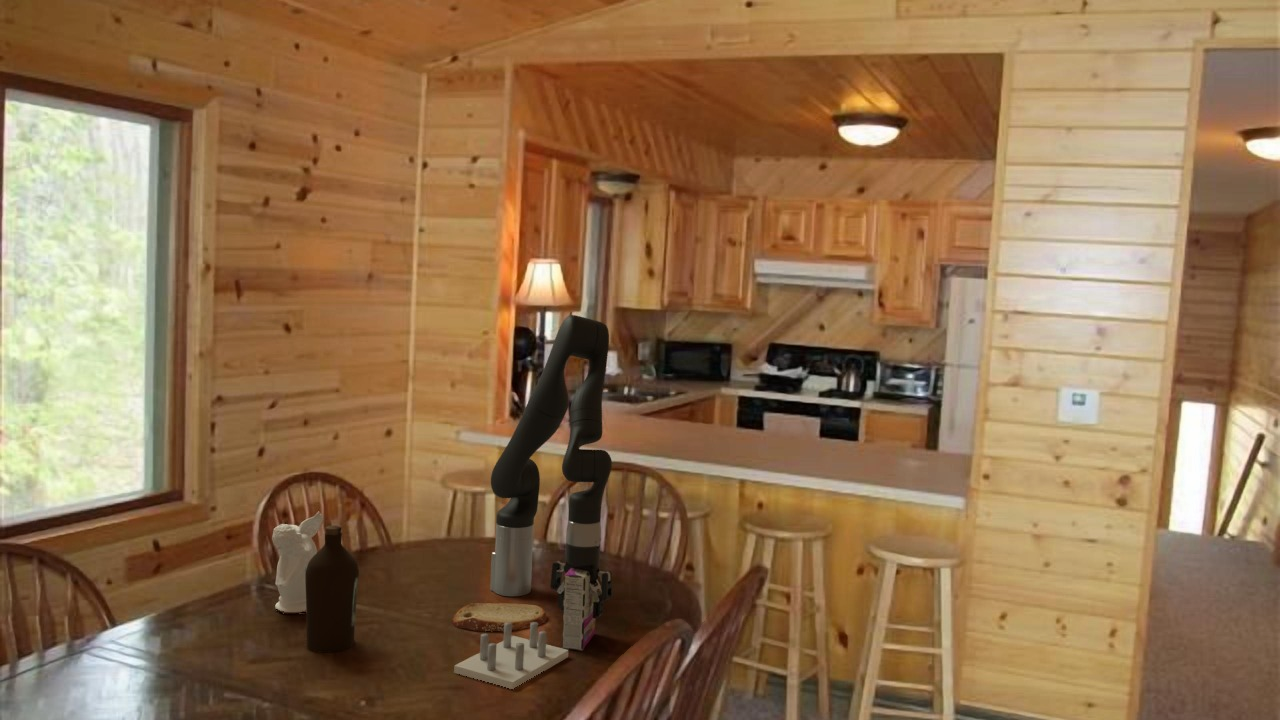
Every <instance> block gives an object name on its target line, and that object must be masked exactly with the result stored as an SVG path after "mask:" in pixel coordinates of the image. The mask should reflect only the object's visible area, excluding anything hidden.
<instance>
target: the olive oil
mask: <svg viewBox="0 0 1280 720" xmlns="http://www.w3.org/2000/svg"><path fill="white" fill-rule="evenodd" d="M342 537H343V533H342V526H341V525H337V524H336V525H335V524H332V525H327V526H325V533H324V544H323V546H322V547H321V548H320V549H319V550H317V553H316V554H315V555H314V556H313V557H312V558H311V560H310V561H309V563H308V565H307V568H306V573H305V582H306V613H305V614H306V646H307V648H308V649H309V648H310V649H309V650H311V649H312V650H311V651H313V650H315V651H314V652H317V651H321V652H320V653H335V652H340V651H341V652H342V651H344V650H347V649H349V648H351V647H352V646H353V645H354V641H355V626H356V612H357V611H356V610H357V600H358V590H359V589H358V588H359V575H360V573H359V572H360V571H359V570H360V569H359V566H358V562H357V560H356V558H355V557H354V556H353V555H352V554H351V553H350V552H349V550H348V549H346V548H345V547H344V545H343V544H342V540H343V539H342Z"/></svg>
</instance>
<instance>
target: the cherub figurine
mask: <svg viewBox="0 0 1280 720" xmlns="http://www.w3.org/2000/svg"><path fill="white" fill-rule="evenodd" d="M323 521H324V518H323V514H322V513H321V512H320V511H319V510H318V511H317V512H316V514H314V515H313V516H312V517H309V518H307V519H305V520H303V521H302V522H301V523H300V524H299V525H296V524H287V523H286V524H285V523H280V524H279V525H278V526H275V528H273V531H272V536H271V540H272V544H273V545H274V547H276V548H277V549H278V556H279V559H278V562H277V565H276V577H275V586H277V590H278V593H279V595H280V596H279V597H278V602H276V604H275V606H274V608H275V610H276V609H278V610H280V611H284V612H302V611H305V610H306V582H305V573H306V568H307V565H308V563H309V561H310V560H311V558H312V557H313V556H314V555H315V554H316V553H317V552H318V549H317V546H316V544H315V541H314V540H313V539H312V538H313V537H314V536H315V535H317V533H318V531H319V529H320V526H321V525H322V523H323Z"/></svg>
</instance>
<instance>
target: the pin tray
mask: <svg viewBox="0 0 1280 720" xmlns="http://www.w3.org/2000/svg"><path fill="white" fill-rule="evenodd" d="M538 629H539V625H538V623H537V622H531V623H530V628H529V639H528V638H524V637H520V636H515V635H512V633H513V630H512V623H510V622H506V623H504V631H503V640H502V641H500V642H498V643H496V642H495V643H494V642H490V637H489V636H490V634H489V633H481V634H480V642H479V643H480V648H479V649H480V650H479V653H477V654H473V655H472V656H470V657H468V658H466V659H465V660H463V661H460V662H459V663H457V664H455V665H454V669H453V670H454V671H453V673H454V674H455V675H456V674H457V675H459V674H460V676H463V677H466V676H467V678H471V679H473V678H474V680H477V679H478V680H477V681H480V680H482V681H481V682H483V681H485V682H484V683H487V682H489V683H488V684H490V683H493V684H492V685H494V684H496V685H495V686H497V685H500V686H499V687H501V686H503V687H502V688H504V687H506V688H505V689H507V688H509V690H511V689H513V690H514V688H515V687H517V686H518V687H520V686H522V685H523V684H525V683H527V682H528V681H530V680H532V679H533V678H535V677H537V676H538V674H539V675H540V674H541V672H542V673H544V672H546V671H547V670H548V669H551V668H552V667H553V666H556V665H557V664H559V663H560V662H562V661H564V660H566V659H567V658H569V649H564V648H562V647H558V646H554V645H550V644H547V631H545V630H538ZM489 642H490V643H489ZM543 671H544V672H543ZM536 675H537V676H536ZM534 676H535V677H534ZM531 678H532V679H531ZM529 679H530V680H529ZM527 680H528V681H527ZM526 681H527V682H526ZM524 682H525V683H524ZM522 683H523V684H522ZM521 684H522V685H521ZM519 685H520V686H519ZM518 687H517V688H518ZM515 689H516V688H515Z"/></svg>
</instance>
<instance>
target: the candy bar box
mask: <svg viewBox="0 0 1280 720" xmlns="http://www.w3.org/2000/svg"><path fill="white" fill-rule="evenodd" d="M563 577H564V579H563V581H564V608H563V612H562V613H563V614H562V640H561V641H562V642H561V648H562V649H566V650H571V651H581V652H583V651H584V650H585V648H586V647H587V645H588V643H590V641H591V639H592V638H593V637H594V635H596V620H597V619H595V618H593V603H594V602H595V600H594V598H593V597H592V595H591V594H590V593H589V582H590V572H589V571H585V570H581V569H576V568H571V569H570V570H569V571H568V572H567V573H564V576H563ZM592 586H593V587H594V585H592Z"/></svg>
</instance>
